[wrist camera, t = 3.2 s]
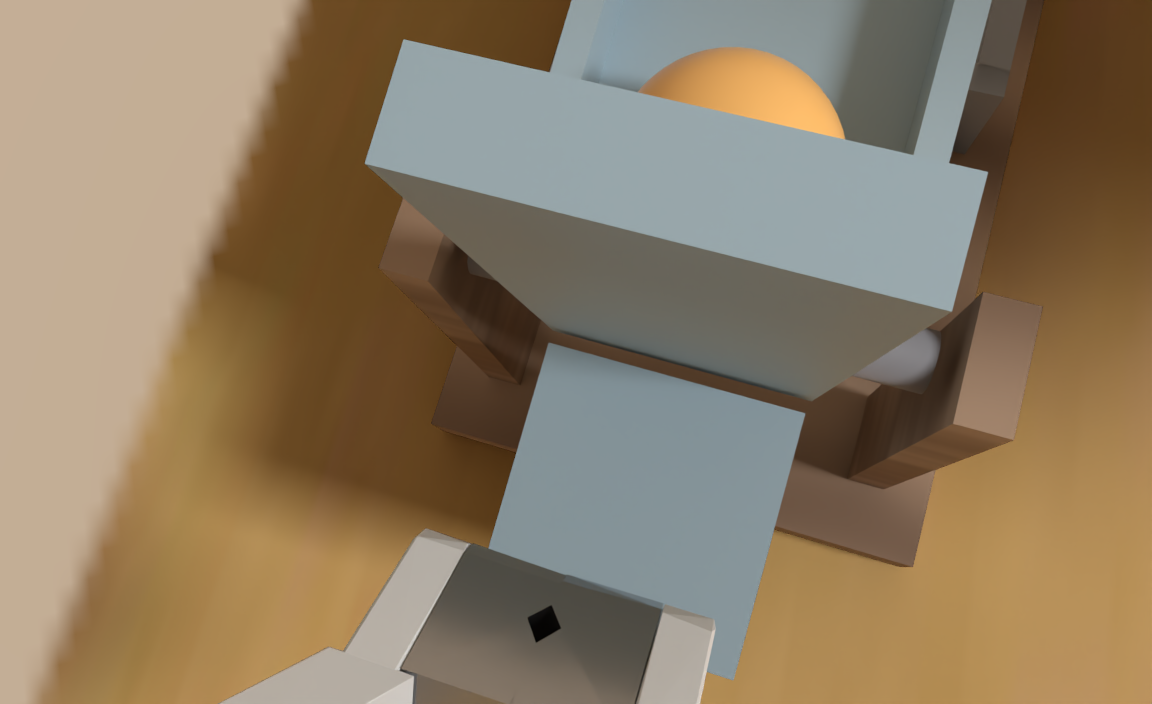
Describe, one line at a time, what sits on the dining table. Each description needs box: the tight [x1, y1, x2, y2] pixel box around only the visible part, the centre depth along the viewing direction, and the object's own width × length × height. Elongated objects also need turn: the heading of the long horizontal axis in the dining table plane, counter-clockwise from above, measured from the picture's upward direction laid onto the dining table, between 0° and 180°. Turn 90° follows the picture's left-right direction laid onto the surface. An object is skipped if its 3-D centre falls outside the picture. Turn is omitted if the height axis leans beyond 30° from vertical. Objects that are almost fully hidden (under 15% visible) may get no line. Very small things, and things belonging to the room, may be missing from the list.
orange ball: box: [638, 47, 845, 139], centre depth 16 cm, size 4×4×4 cm
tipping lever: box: [365, 0, 992, 680], centre depth 16 cm, size 18×9×16 cm, turn 163°
